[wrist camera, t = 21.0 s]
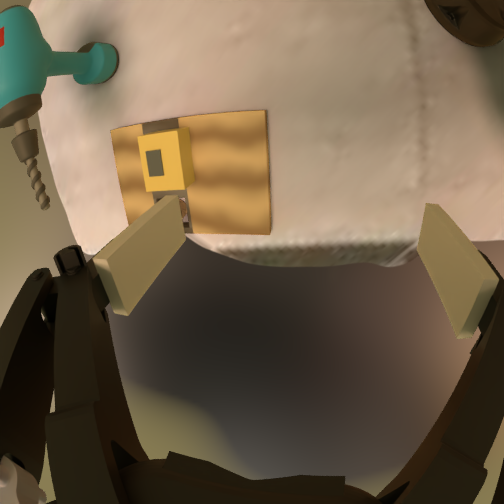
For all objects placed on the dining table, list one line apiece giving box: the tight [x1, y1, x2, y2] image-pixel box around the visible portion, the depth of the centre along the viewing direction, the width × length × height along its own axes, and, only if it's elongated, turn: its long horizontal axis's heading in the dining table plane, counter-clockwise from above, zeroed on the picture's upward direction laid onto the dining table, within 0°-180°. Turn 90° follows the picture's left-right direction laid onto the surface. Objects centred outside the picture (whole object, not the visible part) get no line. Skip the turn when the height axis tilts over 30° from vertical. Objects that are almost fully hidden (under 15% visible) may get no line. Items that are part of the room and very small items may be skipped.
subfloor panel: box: [110, 110, 271, 235], centre depth 41 cm, size 18×24×2 cm
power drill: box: [0, 5, 118, 210], centre depth 26 cm, size 28×9×23 cm, turn 12°
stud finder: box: [138, 127, 195, 192], centre depth 37 cm, size 8×6×4 cm
